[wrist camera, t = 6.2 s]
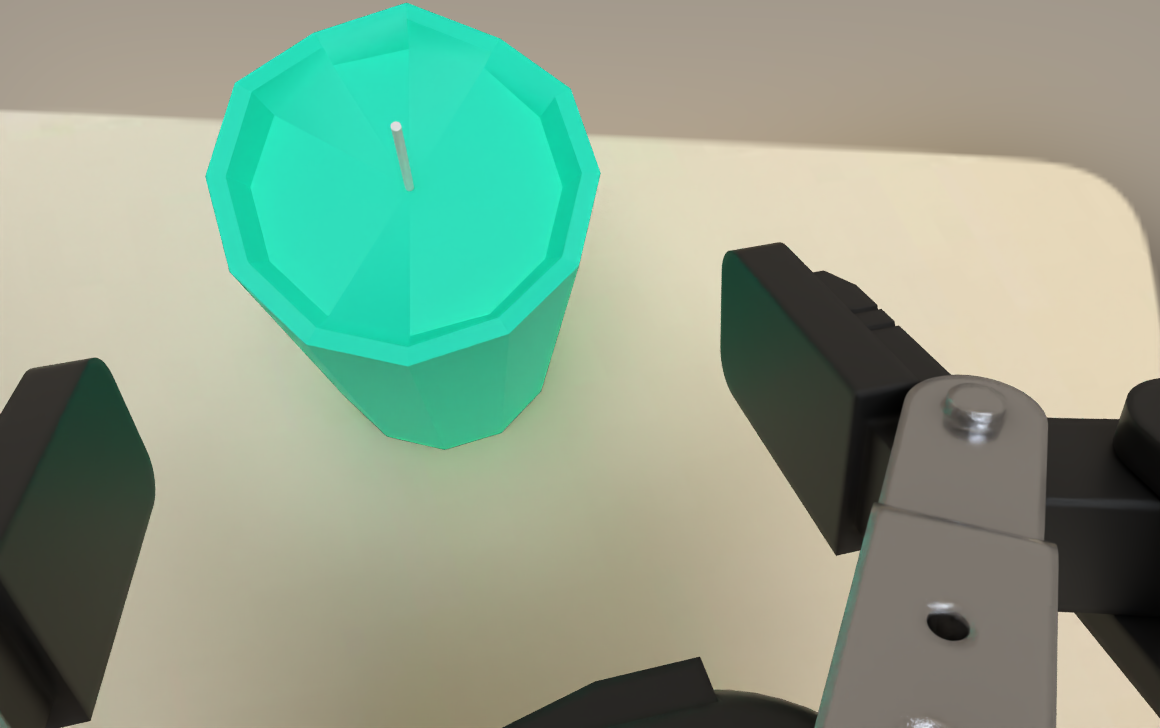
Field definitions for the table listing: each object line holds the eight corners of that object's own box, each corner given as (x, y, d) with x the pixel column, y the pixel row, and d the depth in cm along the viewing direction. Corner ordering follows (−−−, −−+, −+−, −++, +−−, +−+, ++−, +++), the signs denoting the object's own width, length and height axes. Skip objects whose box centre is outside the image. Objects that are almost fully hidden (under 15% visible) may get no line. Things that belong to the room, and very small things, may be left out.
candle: (594, 375, 24) (695, 200, 12) (402, 493, 22) (306, 426, 11) (481, 198, 24) (471, -128, 13) (289, 303, 23) (84, 49, 12)
